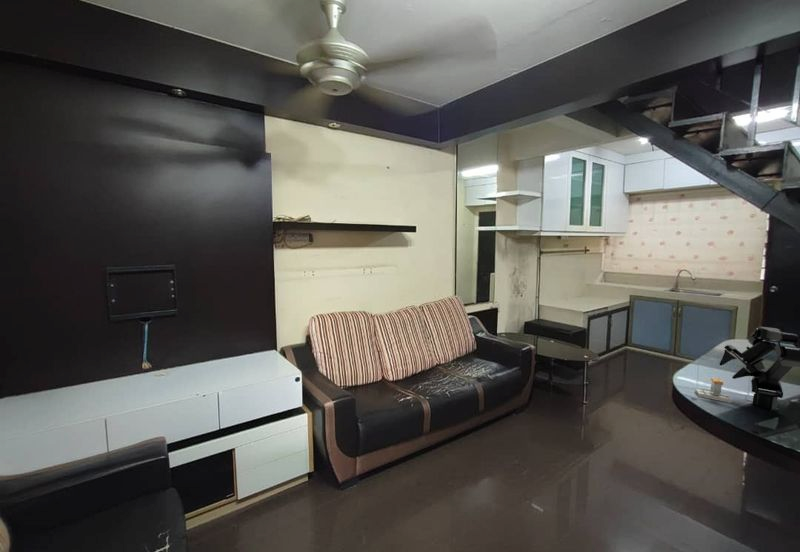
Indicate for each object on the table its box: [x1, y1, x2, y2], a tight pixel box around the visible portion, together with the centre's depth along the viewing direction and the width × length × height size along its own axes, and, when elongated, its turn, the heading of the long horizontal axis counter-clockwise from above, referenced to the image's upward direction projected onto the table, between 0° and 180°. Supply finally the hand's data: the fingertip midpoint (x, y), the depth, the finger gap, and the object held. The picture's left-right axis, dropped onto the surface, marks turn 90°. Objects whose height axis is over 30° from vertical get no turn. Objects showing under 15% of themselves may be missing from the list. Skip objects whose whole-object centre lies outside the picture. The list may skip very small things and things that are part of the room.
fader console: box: [695, 388, 733, 403], centre depth 163 cm, size 12×6×2 cm, turn 61°
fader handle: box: [710, 377, 724, 396], centre depth 163 cm, size 3×5×7 cm, turn 151°
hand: (726, 371), depth 169 cm, fingers open, 9 cm apart
